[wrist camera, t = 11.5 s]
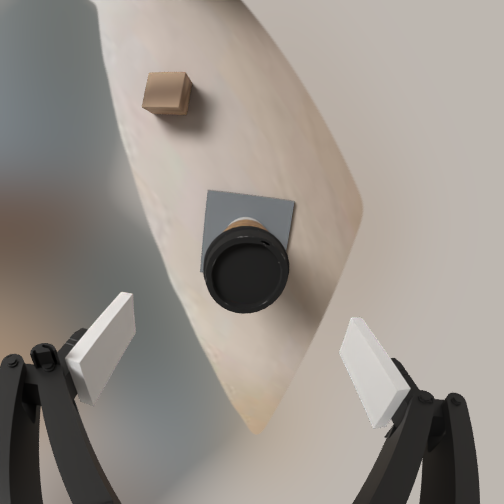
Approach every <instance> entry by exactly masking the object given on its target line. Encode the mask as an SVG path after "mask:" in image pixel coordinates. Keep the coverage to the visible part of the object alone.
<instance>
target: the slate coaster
mask: <svg viewBox="0 0 504 504" xmlns="http://www.w3.org/2000/svg"><path fill="white" fill-rule="evenodd" d="M293 207H294V201H291V200H284V199H277V198H270V197H263V196H256V195H248V194H240V193H232V192H223V191H214V190H208V193H207V202H206V212H205V222H204V233H203V244H202V256H201V269H200V272H203V264H204V257H205V254H206V251H207V249H208V247H209V245H210V244H211V242H212V241H213V240H214V239H215V238H216V237H217V236H218V235H220V234H221V233H222V232H223V231H224V230H225V229H226V228H227V227H228V226H229V224H230V223H231V222H233V221H234V220H236V219H238V218H241V217H250V218H254V219H256V220H257V221H259V222H260V223H261V224H262V225H263V226H264V227H265V228H266V229H267V230H268V231H269V232H270V233H271V234H273V235H274V236H275V237H276V238H277V239H278V240H279V241H280V242H281V243H282V245H283V246H284V248H285V250H286V249H287V243H288V237H289V232H290V226H291V219H292V213H293ZM203 273H204V272H203Z"/></svg>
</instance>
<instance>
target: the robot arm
mask: <svg viewBox="0 0 504 504" xmlns="http://www.w3.org/2000/svg"><path fill="white" fill-rule="evenodd" d="M135 333H136V329H135V319H134V305H133V294H130V293H125V292H121V293H120V294H119V295H118V296H117V297H116V298H115V300H114V301H113V302H112V303H111V304H110V305H109V306H108V307H107V309H106V310H105V311H104V312H103V313H102V314H101V316H100V317H99V318H98V319H97V320H96V321H95V322H94V324H93V325H92V326H91V327H90V328H89V329H84V328H82V329H80V330H78V331H76V332H75V333H74V334H73V335H72V336H71V337H70V339H69V340H68V341H67V342H66V344H64V345H63V346H62V348H61V349H60V350H59V351H58V352H57V351H56V349H55V347H54V346H53V345H51V344H48V343H42V344H38V345H36V346H35V347H33V348H32V350H31V353H30V355H31V358H32V361H33V363H34V365H32V364H25V363H24V360H23V358H22V357H21V356H20V355H17V354H10V355H8V356H6V357H5V358H4V359H3V360H2V363H1V366H0V504H43V500H42V492H41V483H40V469H39V423H40V407H41V406H42V411H43V416H44V421H45V425H46V429H47V433H48V437H49V440H50V444H51V447H52V451H53V454H54V457H55V460H56V463H57V466H58V469H59V472H60V474H61V477H62V480H63V482H64V485H65V487H66V490H67V492H68V494H69V497H70V499H71V501H72V503H73V504H121V502H120V500H119V499H118V497H117V495H116V494H115V492H114V490H113V488H112V487H111V485H110V483H109V481H108V479H107V477H106V475H105V473H104V471H103V469H102V467H101V465H100V463H99V461H98V459H97V457H96V454H95V452H94V450H93V448H92V445H91V444H90V441H89V438H88V436H87V433H86V431H85V428H84V426H83V423H82V420H81V418H80V415H79V412H78V409H77V406H76V403H75V401H74V398H75V396H76V395H77V394H78V397H79V399H80V401H81V402H83V403H86V404H89V405H92V406H94V405H95V403H96V401H97V400H98V398H99V396H100V394H101V392H102V390H103V389H104V386H105V385H106V383H107V381H108V380H109V378H110V376H111V374H112V372H113V371H114V369H115V367H116V365H117V364H118V362H119V360H120V358H121V357H122V355H123V353H124V351H125V350H126V348H127V346H128V345H129V343H130V341H131V340H132V338H133V336H134V334H135ZM339 354H340V356H341V358H342V360H343V362H344V364H345V366H346V369H347V371H348V373H349V375H350V377H351V380H352V382H353V384H354V386H355V388H356V391H357V393H358V395H359V397H360V400H361V402H362V404H363V406H364V409H365V411H366V413H367V415H368V417H369V420H370V422H371V425H372V427H373V429H375V428H381V427H386V426H387V424H388V423H389V421H390V420H391V419H392V421H393V423H394V425H393V426H392V428H391V429H390V430H389V432H388V433H387V434H386V436H385V438H386V437H387V439H386V441H385V443H384V445H383V448H382V450H381V452H380V454H379V456H378V458H377V460H376V462H375V464H374V466H373V468H372V470H371V472H370V474H369V476H368V478H367V480H366V482H365V483H364V485H363V487H362V488H361V490H360V492H359V494H358V495H357V497H356V499H355V500H354V502H353V503H352V504H406V503H407V500H408V498H409V495H410V493H411V490H412V487H413V485H414V482H415V479H416V476H417V473H418V470H419V467H420V464H421V461H422V458H423V461H422V462H423V464H422V483H421V493H420V503H419V504H480V492H479V476H478V465H477V457H476V450H475V443H474V437H473V432H472V426H471V422H470V417H469V412H468V408H467V404H466V401H465V399H464V398H463V396H461V395H460V394H457V393H450V394H448V396H447V397H446V399H445V400H439V399H434V396H433V395H431V394H430V393H429V392H427V391H423V390H419V389H418V387H417V386H416V384H415V383H414V381H413V380H412V378H411V377H410V375H408V373H407V371H406V370H405V368H404V367H403V365H402V364H401V363H400V362H399V361H398V360H396V359H395V358H390V357H389V356H388V354H387V353H386V351H385V350H384V348H383V347H382V345H381V344H380V342H379V341H378V340H377V338H376V337H375V335H374V334H373V333H372V331H371V330H370V328H369V327H368V325H367V324H366V323H365V321H364V320H363V318H360V317H351V319H350V322H349V325H348V328H347V331H346V334H345V337H344V340H343V343H342V346H341V349H340V351H339Z"/></svg>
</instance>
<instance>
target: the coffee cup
mask: <svg viewBox="0 0 504 504" xmlns="http://www.w3.org/2000/svg"><path fill="white" fill-rule="evenodd" d="M203 272H204V279H205V282H206V285H207V288H208V291H209V293H210V295H211V296H212V298H213V299H214V300H215V301H216V302H217V303H218V304H219V305H220V306H221V307H223V308H225V309H227V310H229V311H232V312H235V313H242V314H244V313H253V312H258V311H260V310H262V309H265V308H266V307H268V306H269V305H271V304H272V303H273V302H274V301H275V300H276V299H277V298H278V297H279V296H280V295H281V293H282V291H283V289H284V288H285V285H286V282H287V279H288V275H289V260H288V255H287V253H286V250H285V248H284V246H283V245H282V243H281V242H280V241H279V240H278V239H277V238H276V237H275V236H274V235H273V234H271V233H270V232H269V231H268V230H267V229H266V228H265V227H264V226H263V225H262V224H261V223H260V222H259V221H257V220H256V219H254V218H250V217H241V218H238V219H236V220H234V221H233V222H231V223H230V224H229V226H228V227H227V228H226V229H225V230H224V231H223V232H222V233H221V234H220V235H218V236H217V237H216V238H215V239H214V240H213V241H212V242H211V244H210V245H209V247H208V249H207V251H206V254H205V257H204V264H203Z"/></svg>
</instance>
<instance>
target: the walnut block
mask: <svg viewBox="0 0 504 504" xmlns="http://www.w3.org/2000/svg"><path fill="white" fill-rule="evenodd" d="M191 88H192V82H191V80H190V79H189V77H188V75H187V74H186V72H155V73H149V75H148V79H147V84H146V89H145V94H144V99H143V104H142V108H144V109H146V110H148V111H149V112H151V113H153V114H176V115H187V110H188V104H189V99H190V93H191Z"/></svg>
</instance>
